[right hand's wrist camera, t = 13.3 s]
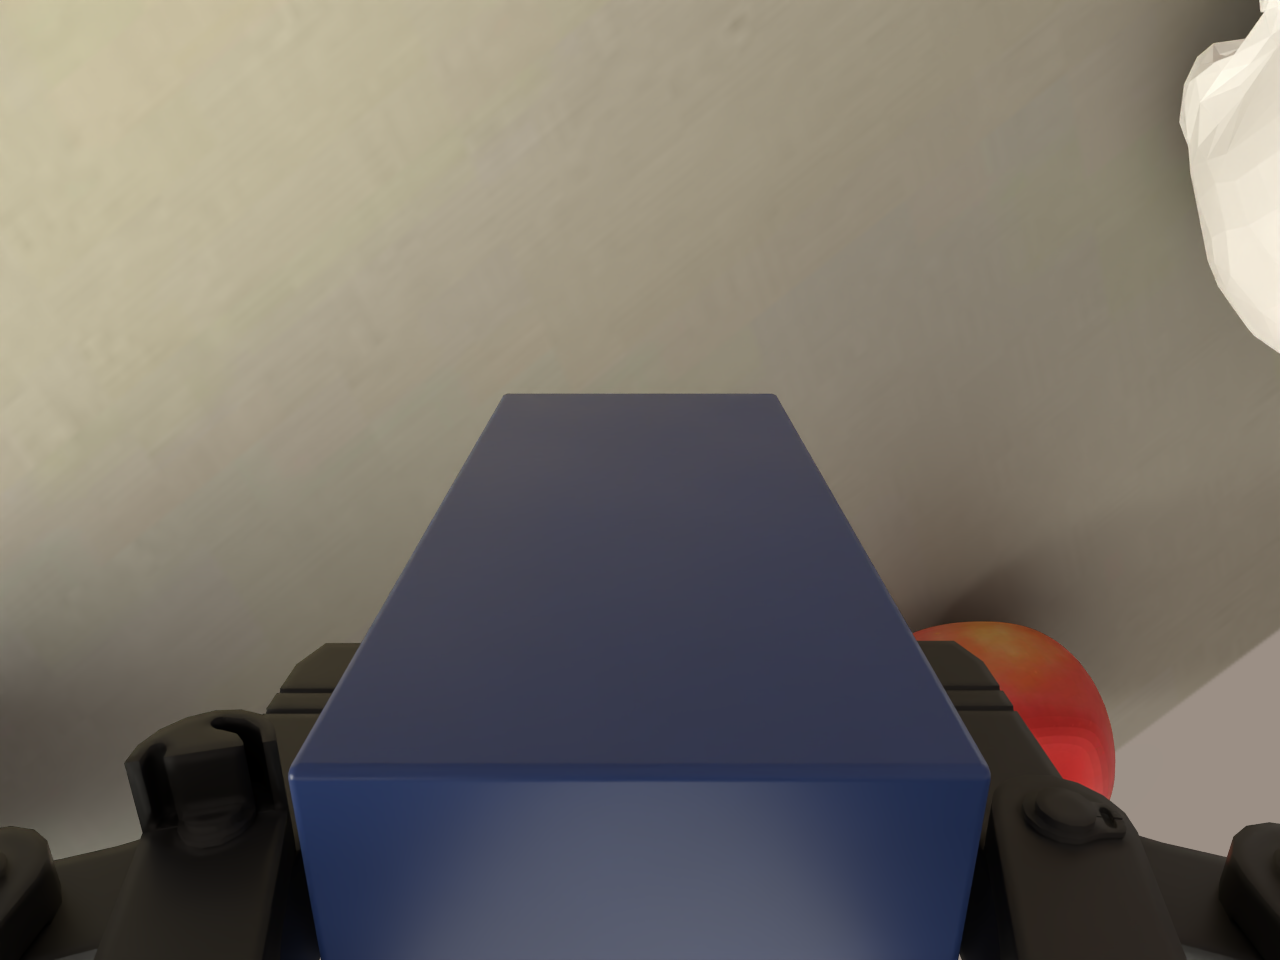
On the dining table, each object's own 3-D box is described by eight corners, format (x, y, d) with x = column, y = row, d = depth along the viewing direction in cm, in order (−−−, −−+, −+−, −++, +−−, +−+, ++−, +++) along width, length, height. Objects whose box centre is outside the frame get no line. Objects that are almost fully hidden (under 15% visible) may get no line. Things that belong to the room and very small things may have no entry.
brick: (777, 392, 15) (999, 772, 6) (761, 655, 17) (909, 1259, 8) (502, 392, 15) (279, 772, 6) (518, 655, 17) (369, 1259, 8)
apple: (807, 712, 41) (856, 875, 32) (897, 546, 38) (981, 673, 29) (981, 770, 42) (1078, 943, 33) (1083, 614, 39) (1221, 757, 30)
